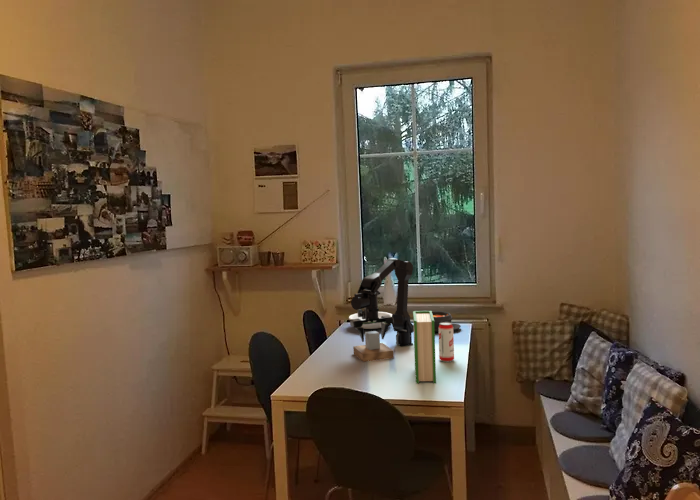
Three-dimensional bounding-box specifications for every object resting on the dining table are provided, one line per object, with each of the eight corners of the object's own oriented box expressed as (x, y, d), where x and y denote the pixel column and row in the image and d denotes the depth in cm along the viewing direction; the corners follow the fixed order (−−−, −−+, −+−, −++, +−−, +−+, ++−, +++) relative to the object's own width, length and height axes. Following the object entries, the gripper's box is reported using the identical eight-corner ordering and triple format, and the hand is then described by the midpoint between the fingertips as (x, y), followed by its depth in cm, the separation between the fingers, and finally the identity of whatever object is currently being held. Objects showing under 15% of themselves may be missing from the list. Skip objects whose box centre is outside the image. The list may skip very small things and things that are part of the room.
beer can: (455, 358, 243) (454, 322, 242) (453, 362, 237) (452, 325, 236) (440, 357, 245) (439, 321, 244) (438, 362, 239) (437, 324, 238)
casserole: (462, 326, 301) (461, 310, 301) (459, 334, 284) (458, 318, 283) (415, 325, 308) (415, 310, 307) (409, 333, 290) (409, 317, 290)
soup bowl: (365, 321, 322) (365, 310, 322) (402, 325, 308) (401, 313, 308) (340, 330, 303) (339, 318, 302) (378, 335, 289) (377, 322, 288)
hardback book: (436, 383, 213) (434, 320, 211) (416, 383, 214) (414, 320, 211) (433, 368, 230) (431, 310, 228) (414, 369, 231) (413, 311, 229)
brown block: (382, 351, 261) (382, 342, 261) (393, 359, 248) (393, 350, 248) (353, 355, 257) (353, 346, 257) (363, 363, 244) (363, 354, 244)
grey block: (376, 346, 256) (375, 330, 255) (380, 348, 251) (379, 333, 250) (365, 347, 254) (364, 332, 254) (369, 350, 249) (368, 334, 249)
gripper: (384, 300, 261) (385, 334, 262) (345, 304, 256) (347, 338, 257) (393, 304, 250) (394, 339, 252) (353, 309, 245) (354, 344, 246)
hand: (372, 340), depth 252 cm, fingers open, 9 cm apart
